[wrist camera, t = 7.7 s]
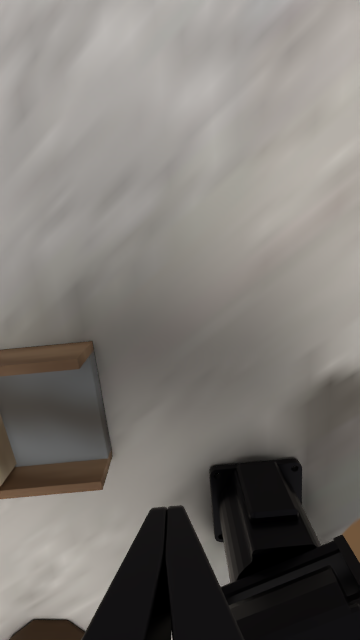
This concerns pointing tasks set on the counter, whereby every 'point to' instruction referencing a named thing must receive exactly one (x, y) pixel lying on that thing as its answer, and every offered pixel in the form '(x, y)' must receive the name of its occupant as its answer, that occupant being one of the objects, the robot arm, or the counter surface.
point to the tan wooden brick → (5, 454)
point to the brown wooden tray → (53, 420)
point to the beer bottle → (49, 631)
